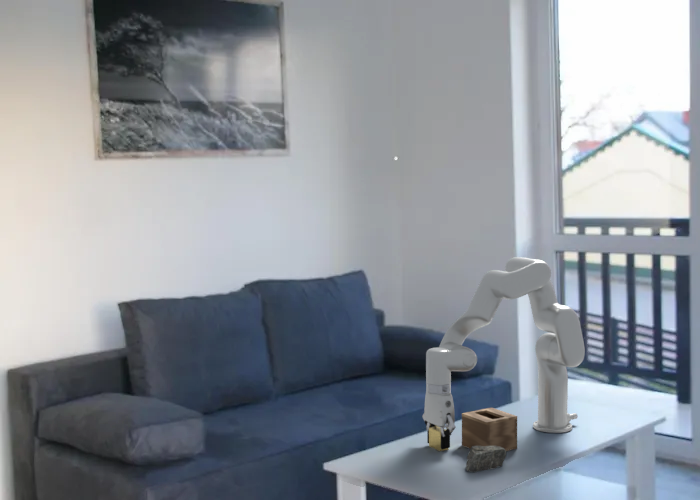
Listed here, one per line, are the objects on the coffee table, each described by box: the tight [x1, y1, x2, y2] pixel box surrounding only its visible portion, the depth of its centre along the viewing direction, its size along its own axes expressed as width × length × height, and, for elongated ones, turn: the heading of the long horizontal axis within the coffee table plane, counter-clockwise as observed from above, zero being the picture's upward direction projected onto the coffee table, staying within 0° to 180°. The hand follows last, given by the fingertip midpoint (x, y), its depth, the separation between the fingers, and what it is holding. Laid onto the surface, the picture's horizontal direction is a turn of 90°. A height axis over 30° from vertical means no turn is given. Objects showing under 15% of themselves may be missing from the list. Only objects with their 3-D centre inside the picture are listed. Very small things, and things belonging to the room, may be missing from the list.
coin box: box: [461, 407, 518, 452], centre depth 281 cm, size 12×12×10 cm
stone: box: [465, 445, 507, 473], centre depth 263 cm, size 14×7×10 cm, turn 128°
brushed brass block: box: [428, 426, 449, 452], centre depth 281 cm, size 3×6×6 cm, turn 31°
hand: (438, 444), depth 282 cm, fingers closed on brushed brass block, 5 cm apart
